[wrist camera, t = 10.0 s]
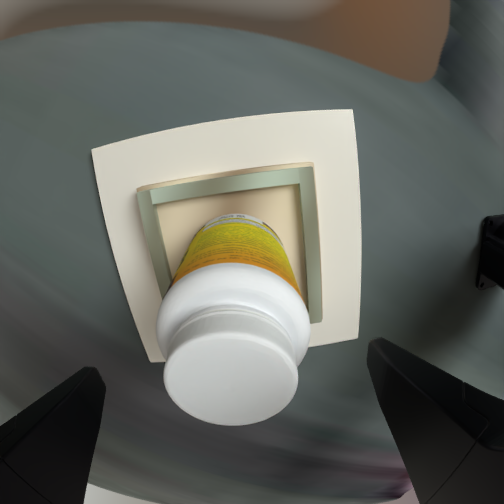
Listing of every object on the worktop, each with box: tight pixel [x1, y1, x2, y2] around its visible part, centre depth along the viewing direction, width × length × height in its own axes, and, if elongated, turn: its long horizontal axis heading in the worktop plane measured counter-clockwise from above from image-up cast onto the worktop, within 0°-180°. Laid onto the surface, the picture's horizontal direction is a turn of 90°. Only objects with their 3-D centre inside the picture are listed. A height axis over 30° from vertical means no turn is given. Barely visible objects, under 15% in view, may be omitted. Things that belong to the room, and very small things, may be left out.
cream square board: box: [92, 109, 361, 362], centre depth 19 cm, size 16×16×1 cm
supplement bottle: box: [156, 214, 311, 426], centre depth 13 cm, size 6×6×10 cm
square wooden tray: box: [136, 161, 323, 324], centre depth 18 cm, size 10×10×2 cm
